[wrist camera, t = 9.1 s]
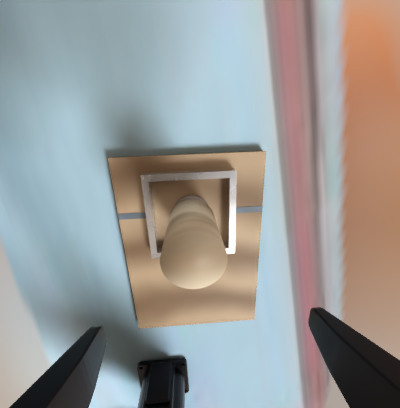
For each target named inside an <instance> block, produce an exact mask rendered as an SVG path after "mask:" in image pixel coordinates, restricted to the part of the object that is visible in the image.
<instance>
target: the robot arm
mask: <svg viewBox="0 0 400 408" xmlns="http://www.w3.org/2000/svg"><path fill="white" fill-rule="evenodd" d="M308 323H309V327H310V330H311V332H312V334H313V336H314V339H315V341H316V343H317V345H318V347H319V350H320V352H321V354H322V356H323V359H324V361H325V363H326V365H327V367H328V369H329V371H330V373H331V375H332V376H333V378H334V380H335V382H336V384H337V385H338V387H339V389H340V391H341V393H342V394H343V396H344V398H345V399H346V402H347V403H348V405H349V407H350V408H400V360H398V359H397V358H395V357H394V356H392V355H391V354H389V353H388V352H386V351H385V350H383V349H382V348H380V347H379V346H378V345H376V344H375V343H373V342H371V341H370V340H369V339H367V338H366V337H364V336H363V335H361V334H360V333H358V332H357V331H355V330H354V329H352V328H351V327H349V326H348V325H347V324H345V323H344V322H342V321H341V320H339V319H338V318H336V317H335V316H333V315H332V314H330V313H329V312H327V311H326V310H324V309H323V308H320V307H317V308H312V309H311V310H310V316H309V322H308ZM105 347H106V337H105V333H104V329H103V327H102V326H92V327H91V328H89V329H88V330H87V331H86V332H85V333H84V334H83V335H82V336H81V337H80V338H79V339H78V340H77V341H76V342H75V343H74V344H73V345H72V346H71V347H70V348H69V349H68V350H67V351H66V352H65V353H64V354H63V355H62V356H61V357H60V358H59V359H58V360H57V361H56V362H55V363H54V364H53V365H52V366H51V367H50V368H49V369H48V370H47V371H46V372H45V373H44V374H43V375H42V376H41V377H40V378H39V379H38V380H37V381H36V382H35V383H34V384H33V385H32V386H31V387H30V388H29V389H28V390H27V391H26V392H25V393H24V394H23V395H22V396H21V397H20V398H19V399H18V400H17V401H16V402H14V403H13V405H11V406H10V407H9V408H88V407H89V405H90V402H91V399H92V396H93V393H94V389H95V386H96V382H97V378H98V374H99V370H100V366H101V363H102V359H103V355H104V351H105ZM137 369H138V374H139V379H140V383H141V393H140V398H139V404H138V408H184V401H185V393H187V392H188V391H189V384H188V372H187V361H186V359H173V360H162V361H150V362H140V363H139V364H138V367H137Z"/></svg>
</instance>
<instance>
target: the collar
mask: <svg viewBox="0 0 400 408" xmlns="http://www.w3.org/2000/svg"><path fill="white" fill-rule="evenodd" d="M140 176H141V183H142V191H143V198H144V206H145V213H146V220H147V228H148V235H149V242H150V250H151V257H152V259H153V258H160V255H161V251H162V247H163V246H159V243H158V234H157V226H156V217H155V209H154V201H153V192H152V184H151V182H156V181H177V180H197V179H218V178H227V242H223V243H224V246H225V249H226V252H227V254H230V253H235V228H236V187H237V170H235V169H214V170H192V171H170V172H149V173H142V174H141V175H140Z"/></svg>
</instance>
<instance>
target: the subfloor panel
mask: <svg viewBox="0 0 400 408" xmlns="http://www.w3.org/2000/svg"><path fill="white" fill-rule="evenodd" d="M265 159H266V151H248V152H225V153H201V154H178V155H154V156H130V157H110V158H108V163H109V168H110V174H111V179H112V185H113V190H114V196H115V201H116V206H117V212H118V218H119V223H120V228H121V233H122V239H123V244H124V250H125V255H126V260H127V266H128V271H129V277H130V282H131V287H132V293H133V298H134V304H135V309H136V315H137V320H138V325H139V329H140V328H153V327H165V326H177V325H190V324H202V323H215V322H227V321H240V320H252V319H254V316H255V302H256V287H257V273H258V259H259V245H260V230H261V216H262V202H263V187H264V173H265ZM214 169H235V170H237V187H236V228H235V253H230V254H227V258H228V261H227V267H226V269H225V271H224V273H223V275H222V276H221V277H220V278H219V279H218V280H217V281H216V282H215V283H213V284H211V285H209V286H207V287H204V288H200V289H186V288H182V287H179V286H176V285H174V284H173V283H171V282H170V281H169V280H168V279H167V278H166V277H165V276H164V274H163V272H162V270H161V266H160V258H153V259H152V257H151V250H150V242H149V235H148V228H147V220H146V213H145V206H144V198H143V191H142V183H141V176H140V175H141V174H142V173H149V172H170V171H192V170H214ZM151 184H152V192H153V201H154V209H155V217H156V226H157V234H158V243H159V246H163V242H164V238H165V234H166V229H167V225H168V221H169V216H170V213H171V211H172V209H173V208H174V206H175V204H176V202H177V201H178V200H179V199H181V198H182V197H184V196H188V195H196V196H199V197H201V198H203V199H204V200H205V201H206V202H207V204H208V206H209V207H210V208H211V209H212V211H213V214H214V217H215V219H216V222H217V225H218V228H219V231H220V234H221V237H222V240H223V242H227V178H218V179H197V180H177V181H156V182H151Z"/></svg>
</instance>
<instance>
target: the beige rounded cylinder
mask: <svg viewBox="0 0 400 408" xmlns="http://www.w3.org/2000/svg"><path fill="white" fill-rule="evenodd" d="M227 261H228V258H227V252H226V249H225V246H224V243H223V240H222V237H221V234H220V231H219V228H218V225H217V222H216V219H215V217H214V214H213V211H212V209H211V208H210V207H209V206H208V204H207V202H206V201H205V200H204V199H203V198H201V197H199V196H196V195H188V196H184V197H182V198H181V199H179V200H178V201H177V202H176V204H175V206H174V208H173V209H172V211H171V213H170V216H169V221H168V225H167V229H166V234H165V238H164V242H163V247H162V251H161V255H160V266H161V270H162V272H163V274H164V276H165V277H166V278H167V279H168V280H169V281H170V282H171V283H173V284H174V285H176V286H179V287H182V288H186V289H200V288H204V287H207V286H209V285H211V284H213V283H215V282H216V281H217V280H218V279H219V278H220V277H221V276H222V275H223V273H224V271H225V269H226V267H227Z"/></svg>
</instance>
